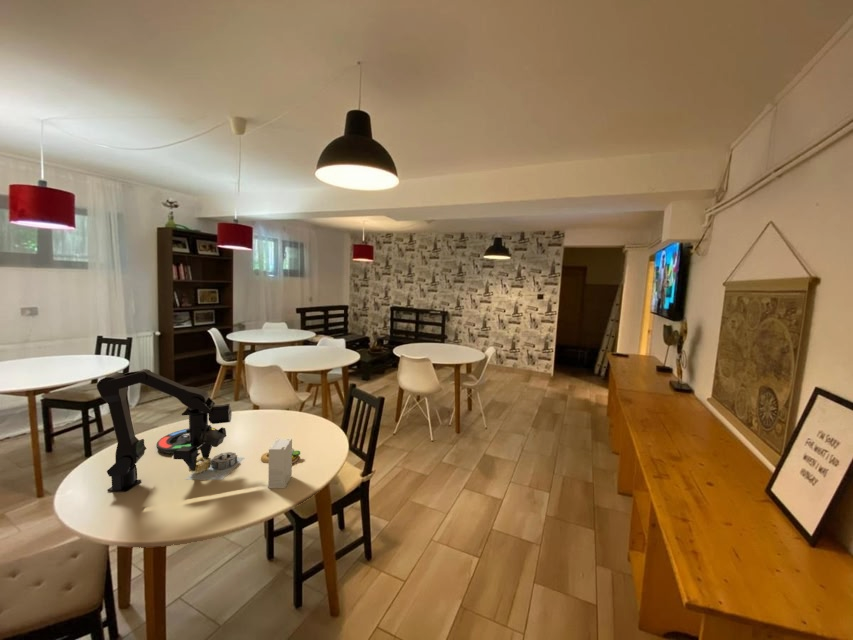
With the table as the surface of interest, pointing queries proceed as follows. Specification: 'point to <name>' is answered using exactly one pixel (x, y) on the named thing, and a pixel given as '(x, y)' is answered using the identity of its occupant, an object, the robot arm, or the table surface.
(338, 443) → the table surface
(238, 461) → the gear board
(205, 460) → the brass gear
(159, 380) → the robot arm
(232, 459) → the gear
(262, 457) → the toy food set
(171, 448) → the electronic game
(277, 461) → the skincare box
